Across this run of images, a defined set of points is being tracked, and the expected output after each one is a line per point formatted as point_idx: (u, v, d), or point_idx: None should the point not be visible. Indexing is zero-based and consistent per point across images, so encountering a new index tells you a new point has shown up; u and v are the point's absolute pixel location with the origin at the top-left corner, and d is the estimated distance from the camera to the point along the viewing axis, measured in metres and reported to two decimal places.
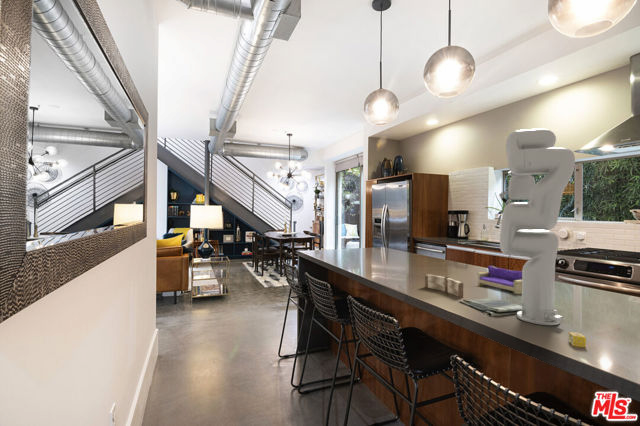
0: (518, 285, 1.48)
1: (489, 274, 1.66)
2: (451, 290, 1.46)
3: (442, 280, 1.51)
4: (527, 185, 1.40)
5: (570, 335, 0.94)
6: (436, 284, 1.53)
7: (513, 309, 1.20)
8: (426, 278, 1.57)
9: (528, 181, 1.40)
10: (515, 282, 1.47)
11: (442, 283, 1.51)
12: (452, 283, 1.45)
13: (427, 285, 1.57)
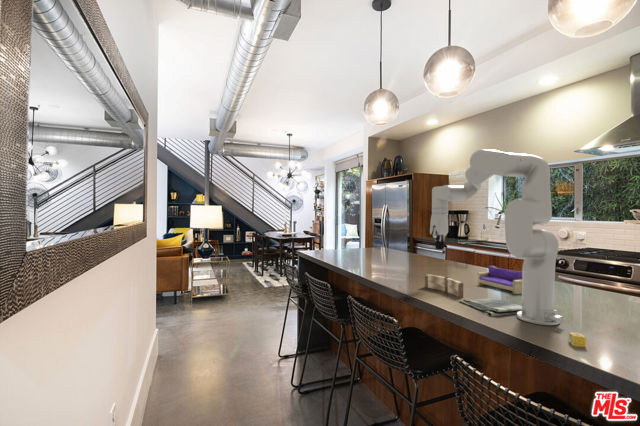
0: (517, 285, 1.48)
1: (489, 273, 1.66)
2: (451, 290, 1.46)
3: (442, 280, 1.51)
4: None
5: (570, 335, 0.94)
6: (436, 284, 1.53)
7: (513, 309, 1.20)
8: (426, 278, 1.57)
9: None
10: (514, 282, 1.47)
11: (442, 283, 1.51)
12: (452, 283, 1.45)
13: (427, 285, 1.57)
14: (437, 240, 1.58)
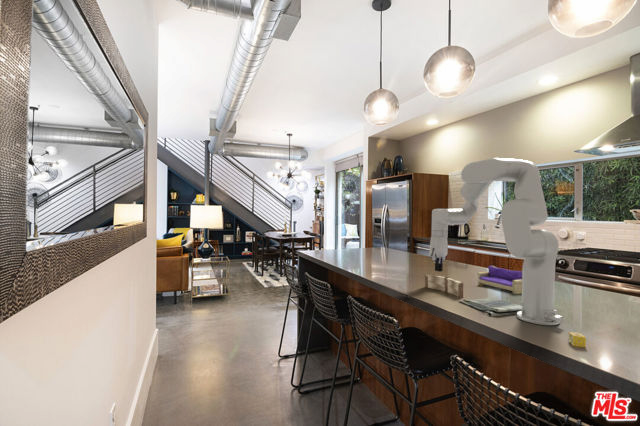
0: (517, 285, 1.48)
1: (489, 273, 1.67)
2: (451, 290, 1.46)
3: (442, 280, 1.51)
4: None
5: (570, 335, 0.94)
6: (436, 284, 1.53)
7: (513, 309, 1.20)
8: (426, 278, 1.57)
9: None
10: (514, 282, 1.47)
11: (442, 283, 1.51)
12: (452, 283, 1.45)
13: (427, 285, 1.57)
14: (437, 262, 1.58)
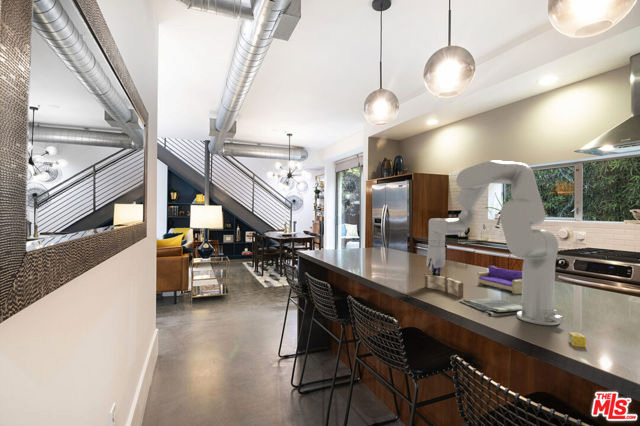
0: (517, 285, 1.48)
1: (489, 273, 1.67)
2: (451, 290, 1.46)
3: (442, 280, 1.51)
4: None
5: (570, 335, 0.94)
6: (436, 284, 1.53)
7: (513, 309, 1.20)
8: (426, 278, 1.57)
9: None
10: (513, 282, 1.47)
11: (442, 283, 1.51)
12: (452, 283, 1.45)
13: (427, 285, 1.57)
14: (434, 273, 1.56)
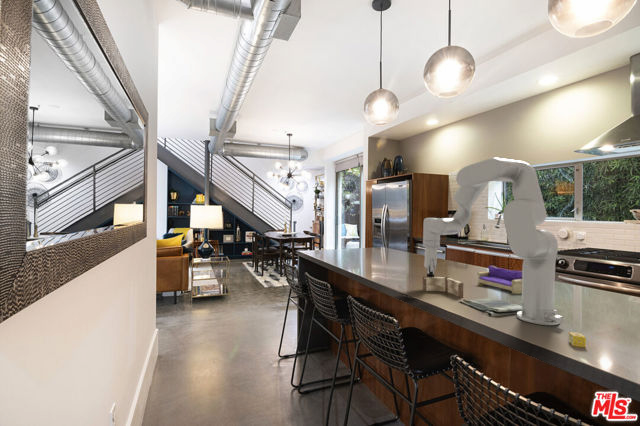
0: (516, 285, 1.48)
1: (489, 273, 1.67)
2: (451, 290, 1.46)
3: (442, 281, 1.50)
4: (425, 255, 1.53)
5: (570, 335, 0.94)
6: (436, 285, 1.50)
7: (513, 309, 1.20)
8: (425, 281, 1.51)
9: (425, 251, 1.52)
10: (513, 282, 1.47)
11: (443, 283, 1.50)
12: (452, 283, 1.45)
13: (426, 288, 1.51)
14: (431, 274, 1.52)
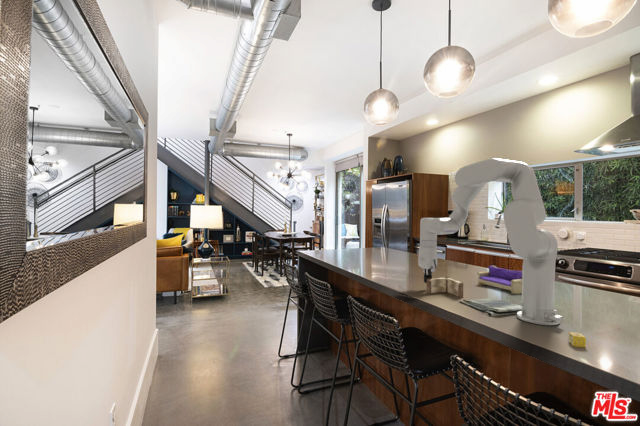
0: (516, 285, 1.48)
1: (489, 273, 1.67)
2: (451, 290, 1.46)
3: (444, 281, 1.49)
4: (424, 256, 1.51)
5: (570, 335, 0.94)
6: (439, 287, 1.48)
7: (513, 309, 1.20)
8: (430, 283, 1.46)
9: (425, 252, 1.50)
10: (512, 282, 1.47)
11: (444, 284, 1.49)
12: (452, 283, 1.45)
13: (431, 291, 1.46)
14: (430, 274, 1.51)
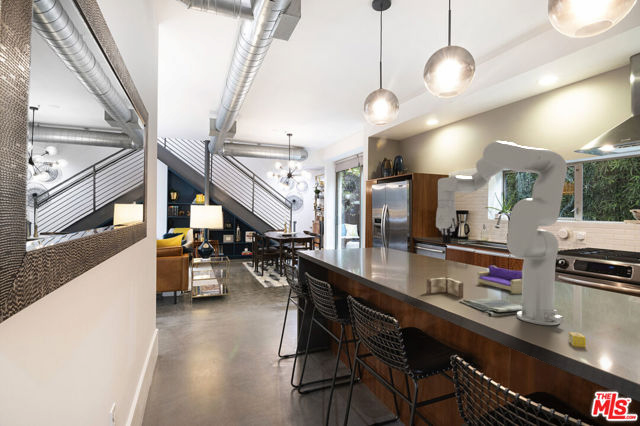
0: (515, 285, 1.49)
1: (489, 273, 1.67)
2: (451, 290, 1.46)
3: (444, 281, 1.49)
4: (443, 215, 1.51)
5: (570, 335, 0.94)
6: (439, 287, 1.48)
7: (513, 309, 1.20)
8: (430, 283, 1.46)
9: (444, 211, 1.50)
10: (512, 282, 1.48)
11: (444, 284, 1.49)
12: (452, 283, 1.45)
13: (431, 291, 1.46)
14: (449, 234, 1.51)
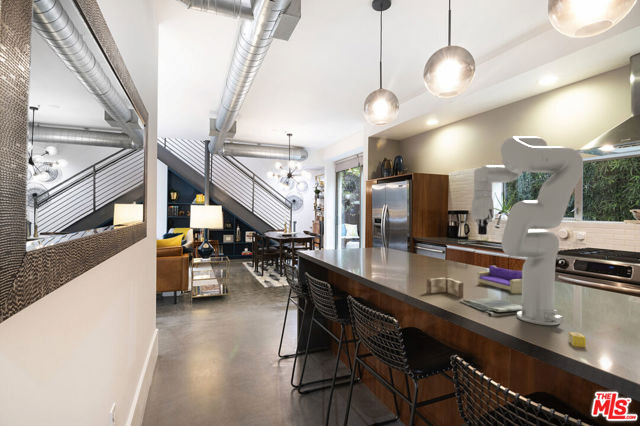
0: (515, 284, 1.49)
1: (489, 273, 1.68)
2: (451, 290, 1.46)
3: (444, 281, 1.49)
4: (479, 206, 1.48)
5: (570, 335, 0.94)
6: (439, 287, 1.48)
7: (513, 309, 1.20)
8: (430, 283, 1.46)
9: (480, 202, 1.47)
10: (511, 281, 1.48)
11: (444, 284, 1.49)
12: (452, 283, 1.45)
13: (431, 291, 1.46)
14: (485, 225, 1.48)
